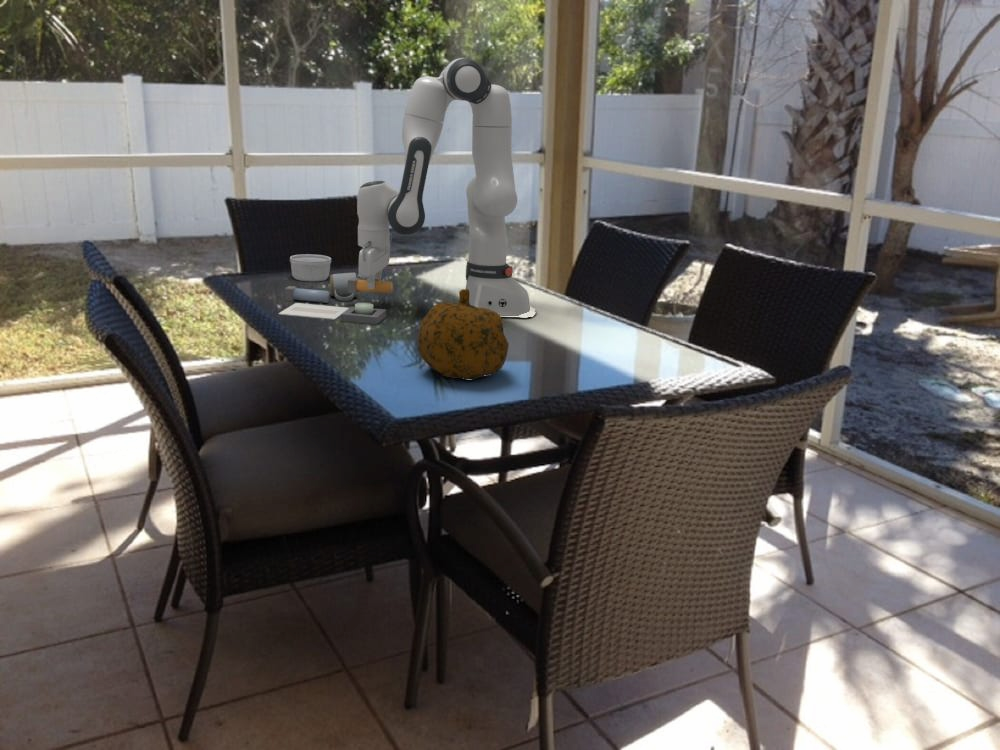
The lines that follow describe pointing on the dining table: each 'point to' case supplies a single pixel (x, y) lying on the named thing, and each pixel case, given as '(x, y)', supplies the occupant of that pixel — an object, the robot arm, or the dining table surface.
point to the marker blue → (306, 295)
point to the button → (364, 308)
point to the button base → (363, 316)
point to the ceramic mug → (341, 286)
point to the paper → (314, 311)
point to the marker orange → (363, 286)
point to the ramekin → (310, 267)
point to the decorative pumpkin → (462, 339)
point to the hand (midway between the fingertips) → (374, 286)
